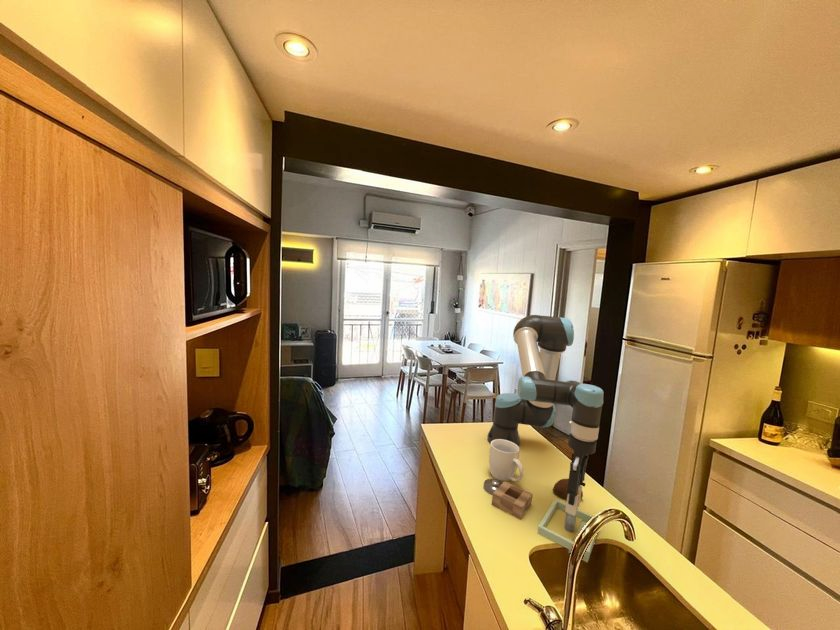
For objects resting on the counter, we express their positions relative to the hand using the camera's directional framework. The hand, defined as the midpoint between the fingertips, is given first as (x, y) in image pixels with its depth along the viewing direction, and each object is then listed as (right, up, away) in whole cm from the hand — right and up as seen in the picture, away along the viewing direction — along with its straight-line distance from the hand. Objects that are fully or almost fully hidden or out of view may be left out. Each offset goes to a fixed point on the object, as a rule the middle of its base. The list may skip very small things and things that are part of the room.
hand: (572, 508), depth 103 cm
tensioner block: (-16, -5, +10) cm, 20 cm away
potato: (+6, -7, +18) cm, 20 cm away
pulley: (-20, -4, +18) cm, 27 cm away
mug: (-15, -4, +26) cm, 31 cm away
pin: (-1, -7, +1) cm, 7 cm away
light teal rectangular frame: (-1, -8, +1) cm, 8 cm away
